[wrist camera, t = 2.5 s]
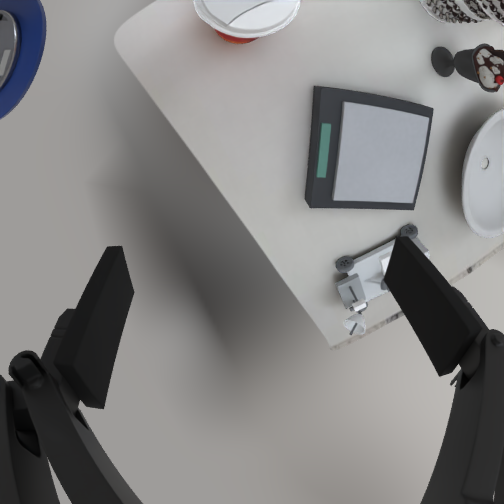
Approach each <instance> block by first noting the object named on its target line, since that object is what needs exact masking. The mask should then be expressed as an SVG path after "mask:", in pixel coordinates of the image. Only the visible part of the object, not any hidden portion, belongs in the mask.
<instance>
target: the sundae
mask: <svg viewBox="0 0 504 504" xmlns="http://www.w3.org/2000/svg"><path fill="white" fill-rule="evenodd" d="M432 64H433V67H434V69H435V70H436V72H437V73H438V74H439V75H441V76H443V77H448V76H450V75H451V74H452V73H453V72H454V68H456V70H457V72H458V73H459V74H460V75H461V76H463V77H465V78H467V79H469V80H472V81H475V82H477V83H479V85H480V86H481V88H482V89H483V90H485V91H487V92H497V91H498V90H499V88H500V85H502V84H503V83H504V51H503V50H494V48H493V47H492V46H490V45H488V44H481V45H479V46H477V47H476V48H475V49H469V50H463V51H459V52H457V53H456V54H455V57H454V59H453V56H452V54H451V53H450V52H449V50H447V49H446V48H444V47H437V48H435V49H434V51H433V52H432Z"/></svg>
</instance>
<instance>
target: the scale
mask: <svg viewBox="0 0 504 504" xmlns="http://www.w3.org/2000/svg"><path fill="white" fill-rule="evenodd" d="M432 116H433V108H430V107H427V106H424V105H420V104H416V103H412V102H408V101H403V100H399V99H395V98H390V97H385V96H380V95H375V94H369V93H364V92H358V91H351V90H344V89H337V88H329V87H321V86H314V93H313V109H312V123H311V137H310V149H309V161H308V172H307V182H306V192H305V200H306V202H307V204H308V205H309V207H310V208H354V209H394V210H414V207H415V203H416V199H417V195H418V191H419V187H420V182H421V178H422V173H423V169H424V164H425V159H426V153H427V148H428V142H429V136H430V130H431V123H432Z"/></svg>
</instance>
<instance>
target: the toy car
mask: <svg viewBox="0 0 504 504" xmlns="http://www.w3.org/2000/svg"><path fill="white" fill-rule="evenodd" d="M417 235H418V230H417V227H416V226H414V225H406V226H404V227H403V228H402V229H401V236H408V237H409V238H410V239H411V240H412V241H413V242H414V243H415V244H416V245H417V247H418V248H419V249H420V250H421V251H422V252H423V253H424V254H425V256H426V257H427V258H428V259H429V260H430V256H429V250H428V249H427V248H426V247H425V246H424V245H423V244H422V243H421V242H420V240H419V239H418V238H417V237H416V236H417ZM394 243H395V239H394V240H393V241H391V242H389V243H387V244H385V245H383V246H381V247H379V248H377V249H375V250H373V251H371V252H369V253H367V254H365V255H363V256H361V257H359V258H357V259H355V260H353V259H352V258H351V257H348V256H346V257H342V258H340V259H339V260H338V261H337V262H336V268H337V270H338V271H339V272H341V273H346V272H347V273H348V276H349V277H347V278H345V279H343V280H341V281H339V282H337V283H335V284H336V286H337V289H338V291H339V293H340V296H341V298H342V301H343V303H344V306H345V308H346V309H347V308H349V307H350V311H353V310H354V311H355V312H358V313H359V314H355V315H353V316H351V317H349V318H348V319H346V320H345V321H344V326H345V327H346V328H347V329H348V330H349V331H351V332H350V335H352V333H356V334H364V333H365V319H364V317H363V315H362V314H361V312H362V311H364V310H365V309H366V308H367V305H368V304H367V302H368V301H370V300H372V299H374V298H376V297H378V296H380V295H382V294H384V293H386V292H389V291H390V290H389V288H388V287H387V285H386V284H385V282H384V281H383V279H384V276H385V273H386V270H387V267H388V263H389V260H390V257H391V253H392V250H393V246H394ZM351 306H352V307H351Z"/></svg>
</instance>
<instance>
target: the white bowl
mask: <svg viewBox="0 0 504 504" xmlns="http://www.w3.org/2000/svg"><path fill="white" fill-rule="evenodd" d="M485 157H487V158H488V160H489V163H488V167H487V168H486V169H482V166H481V164H482V160H483V159H484V158H485ZM462 207H463V212H464V216H465V219H466V222H467V224H468V226H469V227H470V229H471V230H472V231H473V232H474V233H475V234H477V235H478V236H481V237H484V238H493V237H497V236H499V235H501V234H503V233H504V108H503V109H500V110H498V111H497V112H495V113H494V114H492V115H491V116H490V117H489V118H488V119H487V120H486V121H485V123H484V124H483V125H482V127H481V128H480V129H479V130H478V131H477V133H476V134H475V135H474V137H473V139H472V140H471V142H470V144H469V147H468V149H467V152H466V155H465V159H464V163H463V170H462Z"/></svg>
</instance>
